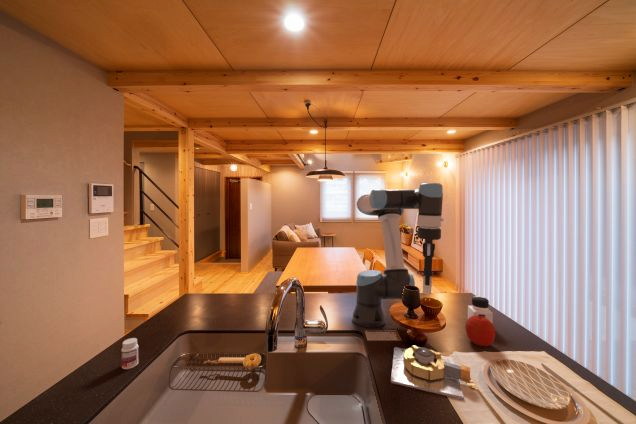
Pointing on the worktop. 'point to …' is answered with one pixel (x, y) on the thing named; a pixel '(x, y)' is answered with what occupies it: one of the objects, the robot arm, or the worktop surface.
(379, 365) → the worktop surface
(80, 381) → the worktop surface
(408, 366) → the yellow piece
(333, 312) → the worktop surface
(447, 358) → the flange plate
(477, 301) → the container
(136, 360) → the pill bottle
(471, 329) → the apple
